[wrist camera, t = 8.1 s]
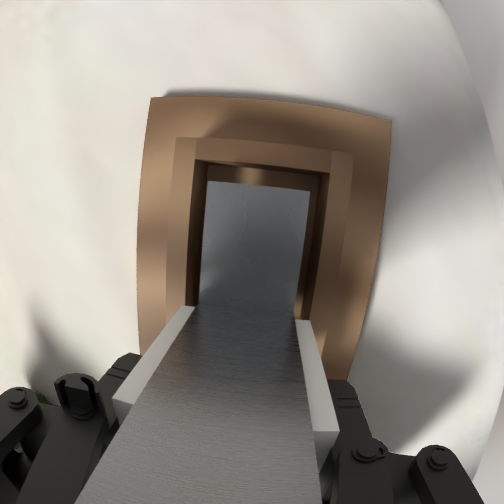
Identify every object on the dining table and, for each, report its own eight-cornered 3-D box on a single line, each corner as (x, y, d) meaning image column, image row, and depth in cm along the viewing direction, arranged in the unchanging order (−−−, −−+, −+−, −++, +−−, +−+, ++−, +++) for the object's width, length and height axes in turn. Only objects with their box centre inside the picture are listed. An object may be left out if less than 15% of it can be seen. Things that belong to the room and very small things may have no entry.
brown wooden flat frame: (338, 388, 19) (349, 425, 15) (146, 365, 19) (125, 396, 15) (385, 124, 15) (413, 108, 11) (157, 102, 16) (129, 81, 12)
